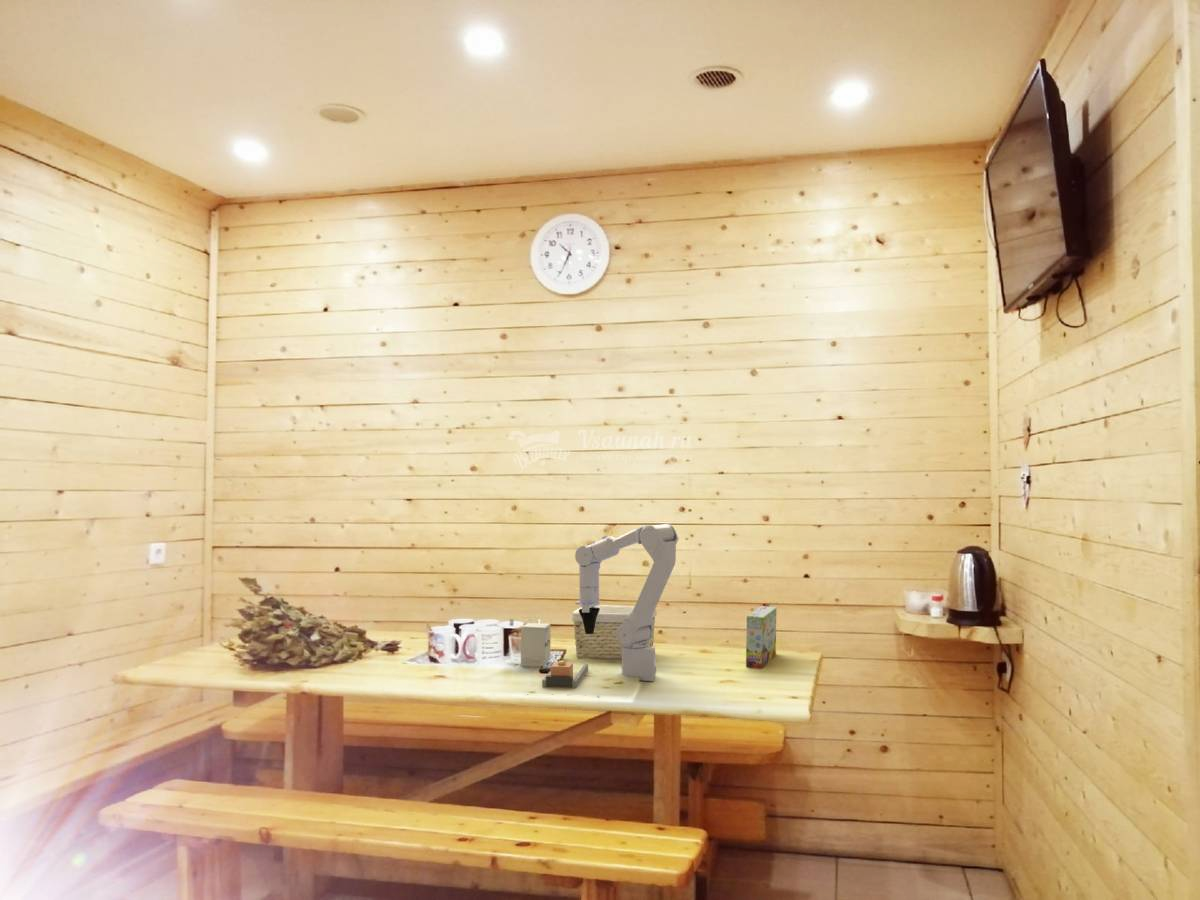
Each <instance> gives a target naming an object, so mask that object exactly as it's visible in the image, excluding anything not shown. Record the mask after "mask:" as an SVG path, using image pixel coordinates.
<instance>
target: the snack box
mask: <svg viewBox="0 0 1200 900" xmlns="http://www.w3.org/2000/svg"><path fill="white" fill-rule="evenodd" d="M745 639H746V646H745V647H746V648H745V649H746V651H745V653H746V654H745V658H746V659H745V667H747V668H755V669H763V668H764V667H765V666H767V664H768V663H769V662H770V661H771V660H772V659H773V658H774V657H775V656H776V655H777V607H776V606H768V605H767V606H765V605H764V606H763V605H762V606H761V605H760V606H759V607H758V608H756V609H755V610H753V611H752V612H751V613H749V614H748V615H746V637H745Z"/></svg>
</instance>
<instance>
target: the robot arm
mask: <svg viewBox="0 0 1200 900" xmlns="http://www.w3.org/2000/svg"><path fill="white" fill-rule="evenodd" d="M601 538H602V539H599V540H597V541H591V542H590V544H589V545H580V546H579V547H578V548H576V551H575V554H574V555H575V556H574V559H575V561H576V562H577V564H578V565H579V567H578V568H579V569H578V570H579V573H578V574H579V581H578V582H579V585H578V586H579V600H577V601H575V605H579V606H580V608H581V607H582V609H579V608H578V609H579V613H580V615H581V617H582V620H583V624H584V629H585V633H586V634H593V632H594V628H595V622H596V618H597V615H598V612H599V610H600V608H594V606H598V605H601V601H600V569H601V563H602V561H605V560H607V559H610V558H612V557H615V556H617V555H618V554H619V553H620V551H621V549H623V548H627V547H629V546H632V545H636V544H638V545H642V546H643V548H644V550H645V551H646V552H647V554H648V555H649V556H650V558H651V559H652V561H653V563H652V565H651V568H650V571H649V573H648V575H647V577H646V580H645V582H644V584H643V587H642V589H641V591H640V593H639V595H638V598H637V600H636V603H635V605H634V606H635V607H634V609H633V611H632V612H631V613H630V614H629V615H628V616H627V617H626V618H625V620H624V622H623V623H622V624H621V625H619V627H618V628H617V631H616V636H617V640H618V641H619V643H620V644H621V647H622V660H621V674H622V675H624V676H627V677H639V679H638V680H639V681H641V682H654V679H655V677H656V673H657V667H656V646H655V645H653V646H648V640H649V639H650V638H651V637H652V633H653V625H654V626H655V624H654V620H653V619H652V615H653V613H654V610H655V608H656V609H657V605H658V603H659V602H660V599H661V596H663V595H662V594H663V592H664V590H665V587H666V585H667V583H668V581H669V578H670V576H671V574H672V571H673V569H674V567H675V565H676V559H677V558H676V557H677V556H676V554H677V552H676V551H677V543H678V541H679V536H678V534H677V531H676V529H675V528H674V526H673V525H672V524H669V523H663V524H655V525H651V524H647V525H644V526H641V527H637V528H634V529H633V530H631V531H629V532H626V533H624V534H622V535H620V536H617V537H614V536H611V535H603V536H602V537H601Z"/></svg>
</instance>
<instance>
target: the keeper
mask: <svg viewBox="0 0 1200 900" xmlns="http://www.w3.org/2000/svg"><path fill="white" fill-rule="evenodd" d="M550 671H551V675H559V676H573V677H574V663H573V662H566V660H558V661H556V662H553V663H552V665H550Z"/></svg>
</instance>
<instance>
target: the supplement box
mask: <svg viewBox="0 0 1200 900" xmlns="http://www.w3.org/2000/svg"><path fill="white" fill-rule="evenodd" d="M549 660H550V661H551V623H546V622H545V623H543V622H542V623H541V622H539V623H538V622H527V623H525V624H524V625H523V626H521V627H520V667H532V668H534V667H536V668H537V667H539V668H542V667H541V666H545V665H546V664H547V663H548V661H549ZM548 664H549V663H548ZM548 664H547V665H548ZM547 665H546V666H547ZM546 666H545V667H546Z"/></svg>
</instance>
